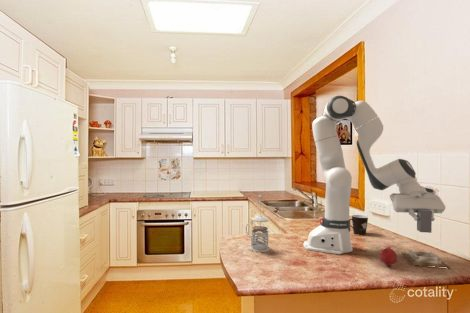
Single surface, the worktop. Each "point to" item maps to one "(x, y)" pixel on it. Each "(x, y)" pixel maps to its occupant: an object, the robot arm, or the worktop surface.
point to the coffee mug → (359, 224)
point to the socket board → (424, 259)
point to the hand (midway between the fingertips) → (425, 220)
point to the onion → (388, 256)
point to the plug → (424, 220)
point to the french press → (259, 234)
